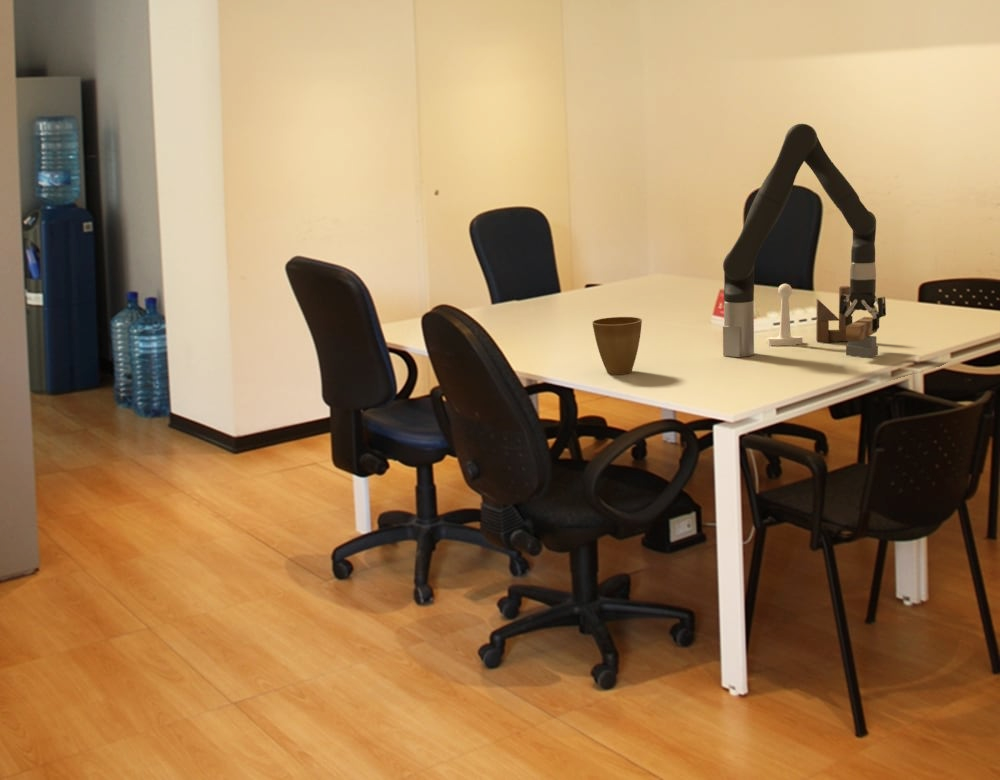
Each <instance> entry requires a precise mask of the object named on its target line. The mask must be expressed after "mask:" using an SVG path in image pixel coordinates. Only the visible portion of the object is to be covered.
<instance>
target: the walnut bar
mask: <svg viewBox="0 0 1000 780" xmlns="http://www.w3.org/2000/svg"><path fill="white" fill-rule="evenodd" d="M872 319H874V318H873V317H872V316H863V317H862V318H860V319H857V320H856V321H854V322H853V321H852V324H850V325H848V326H846V341H856V342H859V341H861V340H863V339H865V338H867V337H868V336H873V335H874V334H876V333H877V332H878V330H877V331H872Z"/></svg>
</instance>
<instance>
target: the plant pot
mask: <svg viewBox="0 0 1000 780" xmlns="http://www.w3.org/2000/svg"><path fill="white" fill-rule="evenodd" d="M642 322H643V319H642V318H641V317H636V316H635V317H634V316H615V317H614V316H612V317H602V318H598V319H595V320H593V321H592V323H591V324H592V329H593V333H594V337H595V338H594V339H595V342H596V345H597V349H598V353H599V356H600V358H601V361H602V364H603V366H604V368H605V371H606V373H607V374H608V373H610V374H609V375H614V374H620V375H627V374H631V373H632V371H633V369H634V365H635V362H636V358H637V354H638V352H639V351H638V350H639V345H640V341H641V340H640V339H641V332H642Z"/></svg>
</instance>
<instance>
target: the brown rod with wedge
mask: <svg viewBox="0 0 1000 780" xmlns="http://www.w3.org/2000/svg"><path fill="white" fill-rule="evenodd" d="M844 294H847V295H849V296H850V294H851V293H850V285H843V286H842V285H841V286H839V287H838V317H837V316H836V314H834V313H833V312H832V311H831V310H830V309H829V308H828V307H827V306H826V305H825V304H824V303H822V301H820V300H819V299H818V298H816V327H815V328H816V329H815V332H816V336H815V338H816V339H815V340H816V342H817V343H818V342H825V343H829V342H830V341H834V342H833V343H836V342H835V341H846V325H845V315H843V314H840V312H839V311H840V297H841V295H844ZM850 305H851V302H850V300H849V301H848V302H847V310H848V308H849V307H850ZM835 321H838V329H830V327H829V326H830V324H829V323H830V322H835Z"/></svg>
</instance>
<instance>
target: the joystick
mask: <svg viewBox="0 0 1000 780" xmlns="http://www.w3.org/2000/svg"><path fill="white" fill-rule="evenodd" d="M777 293H778V295H779V296H780V298H781V299H780V302H781V303H780V319H779V334H777V335H775V337H774V336H773V337H770V336H769V337H766V344H767V346H768V345H789V346H797V345H796V344H800V345H803V336H801V335H793V336H792V333H791V316H790V315H791V314H790V296H791V294H792V293H793V288H792V286H791V285H790V284H788V283H782V284H780V285H779V286H778V289H777Z"/></svg>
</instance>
